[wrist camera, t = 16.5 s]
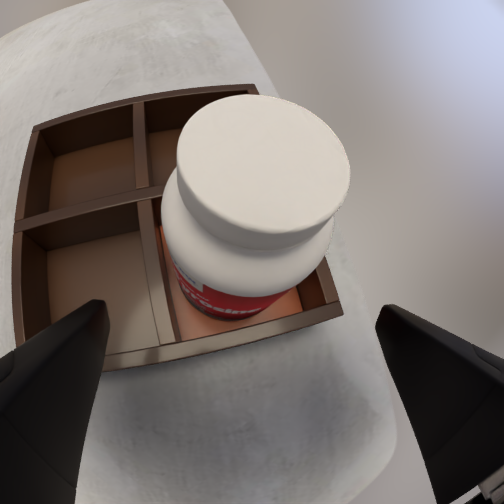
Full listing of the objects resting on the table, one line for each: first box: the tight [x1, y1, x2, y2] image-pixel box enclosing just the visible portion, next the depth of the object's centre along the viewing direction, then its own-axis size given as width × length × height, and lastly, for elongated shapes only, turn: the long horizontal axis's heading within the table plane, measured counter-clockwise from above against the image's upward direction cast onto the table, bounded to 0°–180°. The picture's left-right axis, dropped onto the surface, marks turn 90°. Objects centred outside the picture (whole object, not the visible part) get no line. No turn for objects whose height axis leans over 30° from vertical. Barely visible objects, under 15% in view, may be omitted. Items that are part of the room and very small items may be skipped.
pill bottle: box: [161, 94, 350, 321], centre depth 12 cm, size 6×6×11 cm
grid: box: [12, 84, 344, 372], centre depth 16 cm, size 17×17×4 cm
